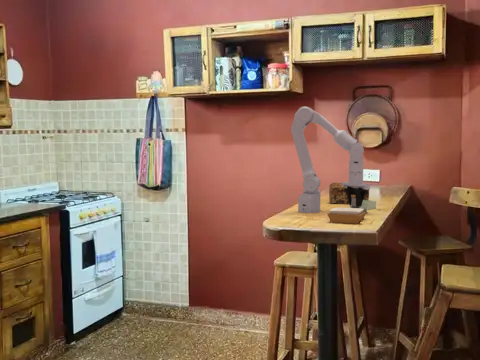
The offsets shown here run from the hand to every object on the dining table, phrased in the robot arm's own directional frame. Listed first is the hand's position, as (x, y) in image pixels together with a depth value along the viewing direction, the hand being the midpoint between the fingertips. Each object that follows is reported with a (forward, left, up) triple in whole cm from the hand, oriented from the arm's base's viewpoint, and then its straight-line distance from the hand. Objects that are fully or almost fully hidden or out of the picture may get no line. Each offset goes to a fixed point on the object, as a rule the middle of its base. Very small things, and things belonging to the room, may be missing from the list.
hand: (355, 205), depth 229 cm
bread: (+34, +22, -4) cm, 41 cm away
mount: (0, 0, -4) cm, 4 cm away
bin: (+14, +4, -4) cm, 15 cm away
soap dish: (-18, -6, -4) cm, 20 cm away
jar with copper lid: (0, 0, -2) cm, 2 cm away
